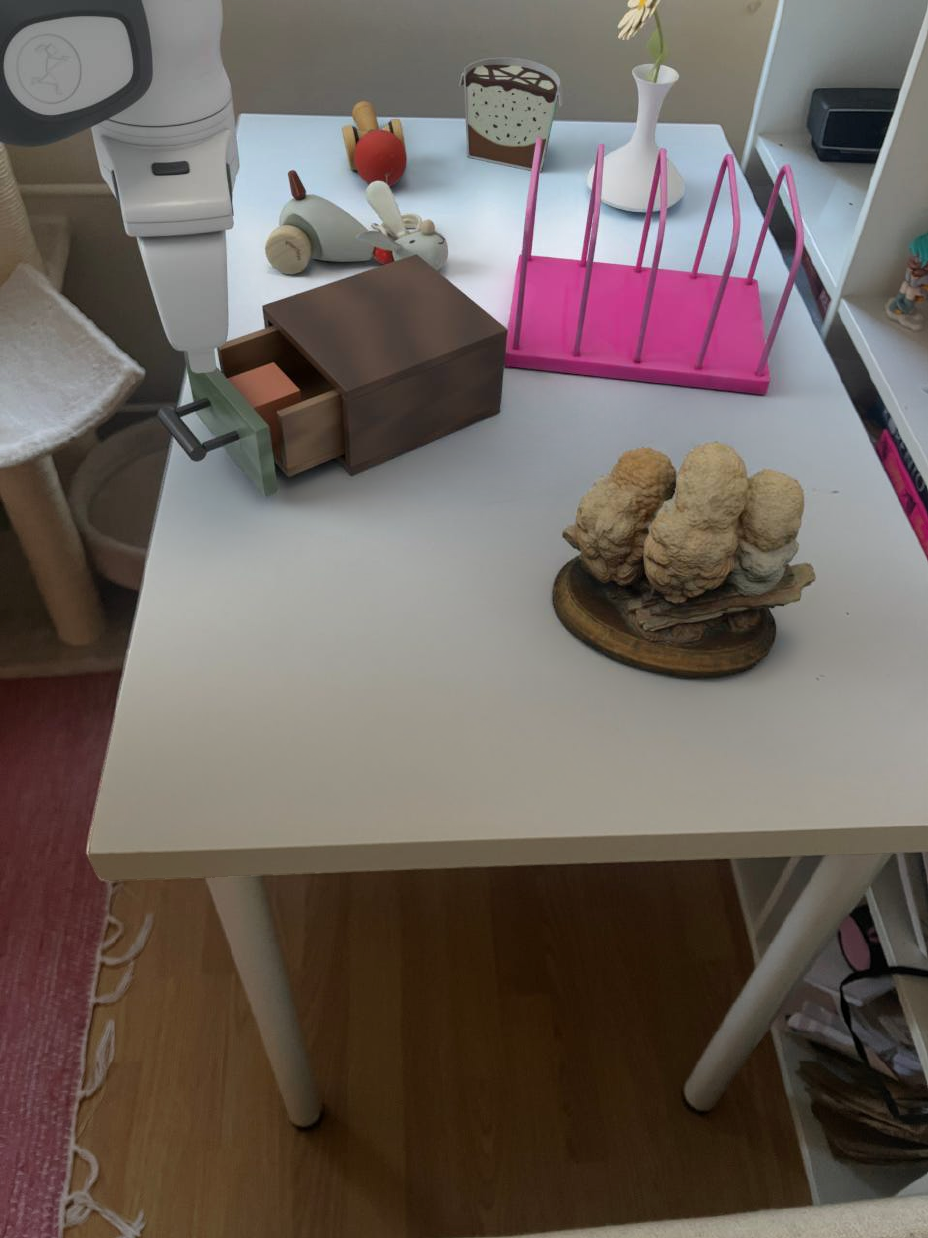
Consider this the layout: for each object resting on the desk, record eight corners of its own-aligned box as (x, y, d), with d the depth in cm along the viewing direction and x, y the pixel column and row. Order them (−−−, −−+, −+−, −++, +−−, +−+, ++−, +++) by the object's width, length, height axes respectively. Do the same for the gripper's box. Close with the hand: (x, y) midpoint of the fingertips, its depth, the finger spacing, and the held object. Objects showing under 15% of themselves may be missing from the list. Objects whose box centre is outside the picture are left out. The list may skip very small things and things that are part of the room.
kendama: (328, 138, 126) (345, 189, 113) (333, 84, 122) (352, 130, 109) (388, 147, 128) (412, 198, 115) (396, 94, 124) (421, 140, 111)
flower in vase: (603, 165, 122) (640, -75, 103) (693, 188, 120) (748, -54, 100) (565, 212, 115) (597, -37, 95) (660, 238, 112) (713, -13, 93)
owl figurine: (788, 586, 79) (865, 414, 66) (780, 704, 72) (865, 537, 59) (565, 537, 81) (596, 361, 68) (535, 647, 74) (563, 474, 61)
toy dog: (453, 281, 104) (457, 198, 98) (273, 299, 101) (264, 214, 94) (427, 221, 112) (428, 140, 105) (259, 235, 108) (249, 152, 102)
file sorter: (517, 269, 107) (531, 118, 94) (753, 294, 106) (798, 144, 94) (502, 367, 95) (516, 211, 83) (766, 396, 95) (819, 242, 82)
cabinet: (351, 476, 85) (346, 391, 78) (272, 389, 92) (261, 305, 85) (500, 412, 91) (508, 329, 84) (415, 336, 98) (416, 253, 91)
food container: (566, 153, 124) (577, 67, 116) (552, 175, 120) (563, 87, 112) (472, 133, 126) (476, 47, 118) (455, 154, 122) (459, 67, 115)
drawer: (216, 518, 80) (203, 451, 74) (149, 431, 86) (132, 363, 81) (414, 435, 87) (415, 369, 82) (339, 360, 93) (336, 294, 88)
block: (257, 452, 83) (250, 408, 80) (231, 422, 85) (224, 379, 82) (304, 433, 85) (300, 390, 81) (278, 404, 87) (273, 361, 84)
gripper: (109, 74, 70) (145, 257, 80) (122, 226, 57) (163, 418, 68) (202, 71, 71) (225, 251, 82) (234, 218, 59) (257, 408, 69)
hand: (197, 328), depth 75 cm, fingers open, 8 cm apart
